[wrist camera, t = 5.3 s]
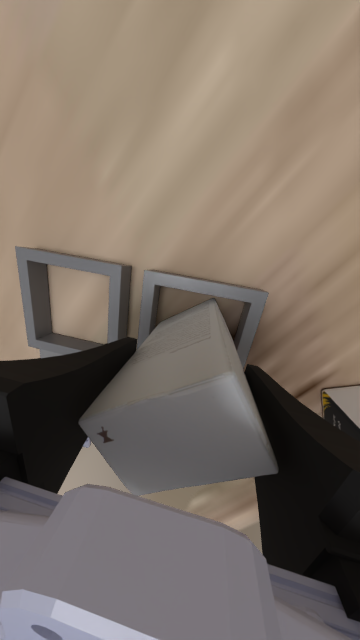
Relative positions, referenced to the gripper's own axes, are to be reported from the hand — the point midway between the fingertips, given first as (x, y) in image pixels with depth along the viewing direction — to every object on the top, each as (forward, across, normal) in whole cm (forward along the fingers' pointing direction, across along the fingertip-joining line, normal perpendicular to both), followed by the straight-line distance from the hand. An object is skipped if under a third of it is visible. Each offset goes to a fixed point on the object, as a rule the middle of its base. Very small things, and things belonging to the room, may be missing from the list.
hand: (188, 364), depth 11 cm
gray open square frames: (+6, +6, +1) cm, 9 cm away
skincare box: (+7, 0, 0) cm, 7 cm away
